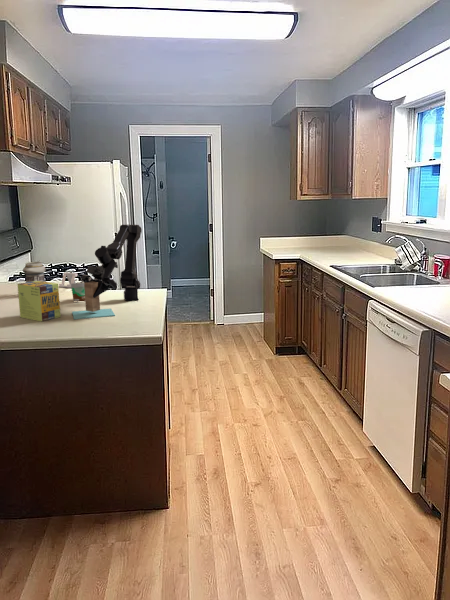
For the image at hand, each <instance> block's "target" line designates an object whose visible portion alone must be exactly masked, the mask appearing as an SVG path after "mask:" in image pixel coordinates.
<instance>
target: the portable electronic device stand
mask: <svg viewBox="0 0 450 600" xmlns="http://www.w3.org/2000/svg"><path fill="white" fill-rule="evenodd" d="M76 277H78V273H77V272H66V271H65V272H63V275H62V279H61V280H62V281H61V283H58V288H65V289H72V288H71V283H72V284H75V283H77V282H76V280H75V278H76ZM66 278H67V281H68V283H69V284H68V283H66ZM65 283H66V285H65Z"/></svg>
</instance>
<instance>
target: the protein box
mask: <svg viewBox="0 0 450 600" xmlns="http://www.w3.org/2000/svg"><path fill="white" fill-rule="evenodd" d="M17 293H18V306H19V317H20V318H22V319H27V320H31V321H37V322H46V321H49V320H53V319H57V318H61V304H60V290H59V283H55V282H48V281H46V282H41V281H33V282H27V283H25V282H23V283H21V282H20V283H17Z"/></svg>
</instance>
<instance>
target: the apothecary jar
mask: <svg viewBox="0 0 450 600" xmlns="http://www.w3.org/2000/svg"><path fill="white" fill-rule="evenodd" d="M46 271H47V270H46V267H45V266H44V265H43V262H42V261H29V262H26V263H25V265H24V266H23V268H22V272H23V273H24V274H25V282H24V283H27V282H33V281H41V282H47V281H46V279H45V272H46Z"/></svg>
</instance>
